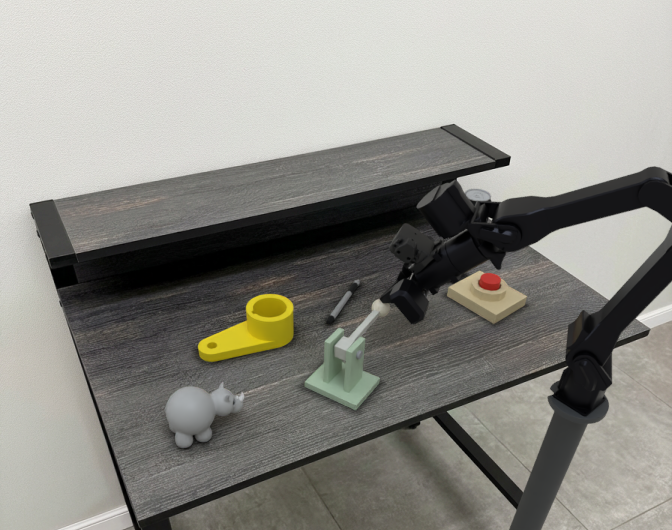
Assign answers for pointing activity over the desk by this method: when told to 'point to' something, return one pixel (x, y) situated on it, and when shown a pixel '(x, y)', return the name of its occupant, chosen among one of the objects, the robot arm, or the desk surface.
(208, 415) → the round bodied animal figurine
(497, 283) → the button
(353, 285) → the pen
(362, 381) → the bracket
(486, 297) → the button box
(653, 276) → the robot arm
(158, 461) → the desk surface
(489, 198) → the beverage can
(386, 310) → the lever
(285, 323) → the crank
